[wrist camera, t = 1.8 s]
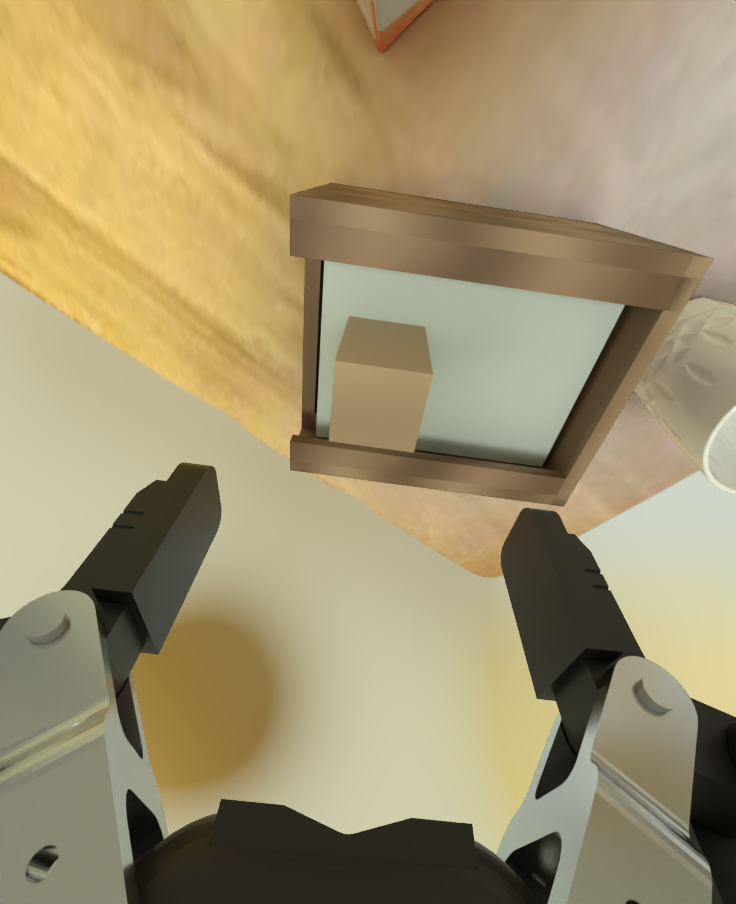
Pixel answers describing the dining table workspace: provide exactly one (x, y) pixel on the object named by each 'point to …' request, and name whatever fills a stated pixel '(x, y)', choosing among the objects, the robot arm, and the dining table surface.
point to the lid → (452, 363)
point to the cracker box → (390, 17)
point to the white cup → (698, 388)
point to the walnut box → (500, 264)
